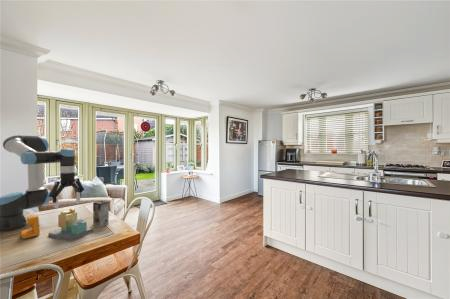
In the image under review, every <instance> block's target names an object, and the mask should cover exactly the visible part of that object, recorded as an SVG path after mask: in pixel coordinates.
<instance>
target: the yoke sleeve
mask: <svg viewBox="0 0 450 299" xmlns="http://www.w3.org/2000/svg"><path fill="white" fill-rule="evenodd" d="M57 217H58V218H57V219H58V220H57V221H58V222H57V223H58V225H57V226H58V227H59V228H61V227H62V228H68V227H71V224H73V222H75V221H77V220H78V211H77V212H76V208H70V209H69V210H68V211H65V210H62V211H60V213H59V214H57Z"/></svg>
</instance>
